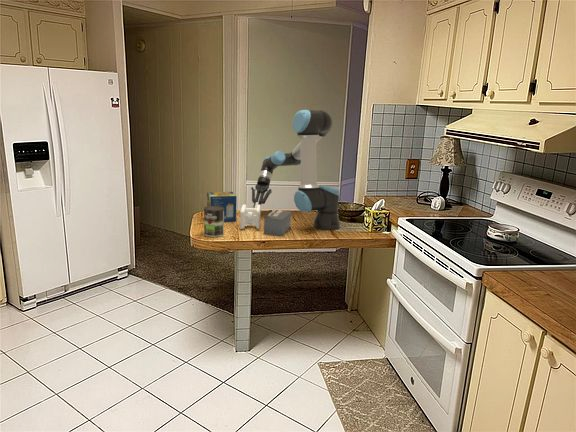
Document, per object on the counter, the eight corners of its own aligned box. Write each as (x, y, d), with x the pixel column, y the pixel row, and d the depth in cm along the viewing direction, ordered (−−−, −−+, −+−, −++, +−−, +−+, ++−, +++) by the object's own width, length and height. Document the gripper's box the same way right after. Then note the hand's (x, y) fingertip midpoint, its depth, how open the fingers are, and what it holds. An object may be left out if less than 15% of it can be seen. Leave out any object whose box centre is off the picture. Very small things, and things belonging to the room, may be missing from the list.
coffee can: (218, 238, 223) (218, 211, 219) (200, 235, 226) (200, 209, 222) (227, 232, 233) (227, 206, 229) (209, 230, 235) (209, 204, 232)
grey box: (290, 227, 248) (291, 210, 245) (282, 236, 231) (282, 218, 228) (273, 225, 250) (273, 208, 248) (263, 233, 233) (264, 216, 231)
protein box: (206, 218, 258) (206, 192, 254) (232, 216, 264) (232, 191, 260) (210, 223, 249) (209, 196, 245) (236, 221, 254) (237, 195, 250)
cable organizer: (259, 231, 238) (259, 210, 235) (239, 230, 238) (239, 209, 235) (260, 223, 252) (260, 203, 249) (241, 222, 252) (242, 203, 249)
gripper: (275, 183, 270) (267, 217, 259) (255, 182, 273) (246, 214, 262) (273, 176, 263) (264, 210, 252) (252, 175, 266) (243, 208, 255)
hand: (255, 212), depth 257 cm, fingers closed
